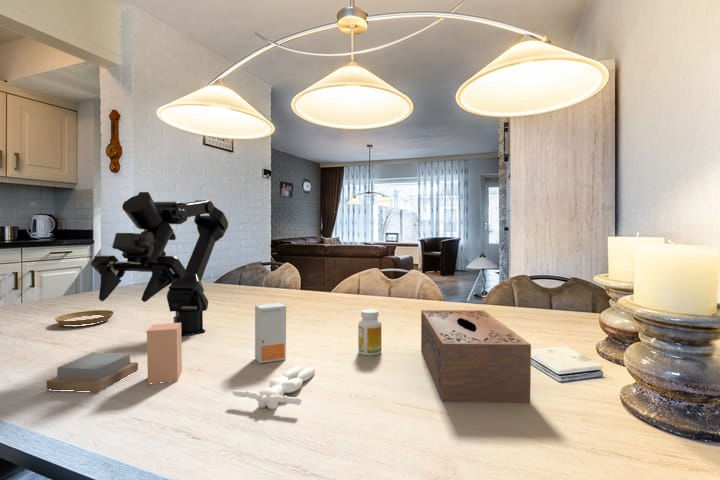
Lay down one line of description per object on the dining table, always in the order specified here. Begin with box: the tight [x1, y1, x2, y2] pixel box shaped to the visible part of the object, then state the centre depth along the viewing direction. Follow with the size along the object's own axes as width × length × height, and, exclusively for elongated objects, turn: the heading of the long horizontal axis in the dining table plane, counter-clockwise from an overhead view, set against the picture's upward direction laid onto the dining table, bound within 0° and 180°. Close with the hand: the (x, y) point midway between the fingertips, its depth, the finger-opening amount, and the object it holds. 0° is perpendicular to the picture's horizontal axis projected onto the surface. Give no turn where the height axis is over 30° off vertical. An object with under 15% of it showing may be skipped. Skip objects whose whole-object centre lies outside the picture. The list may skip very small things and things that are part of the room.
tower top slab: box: [56, 352, 131, 380], centre depth 71 cm, size 8×8×2 cm
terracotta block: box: [146, 322, 183, 385], centre depth 72 cm, size 5×5×10 cm
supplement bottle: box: [357, 308, 383, 357], centre depth 87 cm, size 5×5×10 cm
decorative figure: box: [232, 365, 316, 410], centre depth 67 cm, size 4×12×18 cm
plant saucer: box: [54, 309, 115, 326], centre depth 115 cm, size 15×15×3 cm
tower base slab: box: [46, 361, 139, 393], centre depth 71 cm, size 10×10×2 cm
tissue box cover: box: [420, 309, 532, 404], centre depth 74 cm, size 26×14×10 cm, turn 178°
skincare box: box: [254, 302, 287, 364], centre depth 82 cm, size 6×4×12 cm
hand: (122, 300), depth 77 cm, fingers open, 9 cm apart
